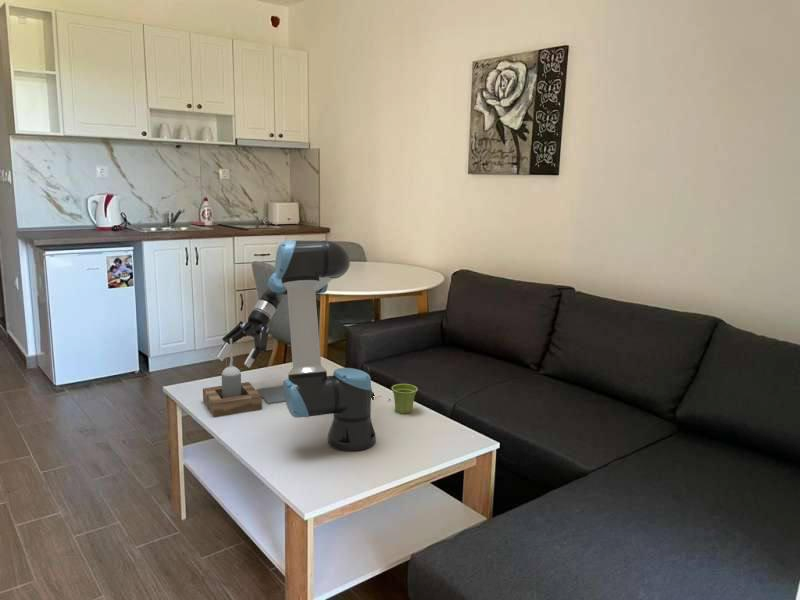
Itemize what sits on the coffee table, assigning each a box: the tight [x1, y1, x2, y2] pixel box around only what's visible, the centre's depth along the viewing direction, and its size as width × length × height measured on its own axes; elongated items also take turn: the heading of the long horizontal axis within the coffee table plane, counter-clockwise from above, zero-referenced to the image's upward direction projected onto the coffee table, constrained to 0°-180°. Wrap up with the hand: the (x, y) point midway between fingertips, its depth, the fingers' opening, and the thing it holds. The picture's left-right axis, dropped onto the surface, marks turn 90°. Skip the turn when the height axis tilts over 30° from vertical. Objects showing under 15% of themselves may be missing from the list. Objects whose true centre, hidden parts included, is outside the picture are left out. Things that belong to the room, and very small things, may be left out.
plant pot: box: [391, 383, 418, 414], centre depth 212 cm, size 9×9×9 cm
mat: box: [255, 385, 286, 405], centre depth 226 cm, size 16×16×1 cm
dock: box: [202, 381, 263, 418], centre depth 213 cm, size 17×17×5 cm
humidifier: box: [221, 339, 242, 399], centre depth 211 cm, size 8×8×25 cm
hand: (233, 362), depth 212 cm, fingers open, 13 cm apart
